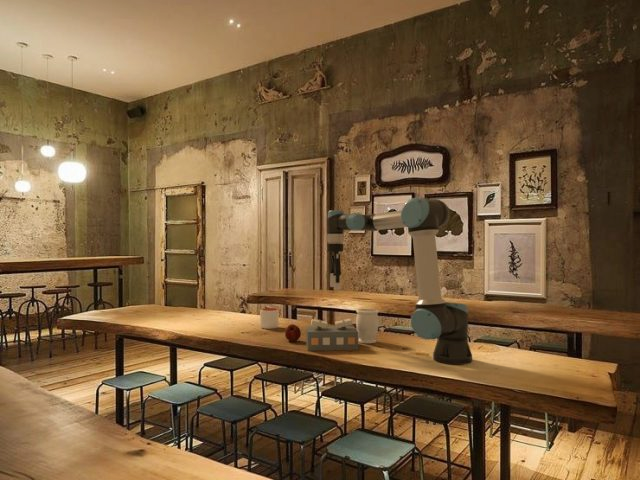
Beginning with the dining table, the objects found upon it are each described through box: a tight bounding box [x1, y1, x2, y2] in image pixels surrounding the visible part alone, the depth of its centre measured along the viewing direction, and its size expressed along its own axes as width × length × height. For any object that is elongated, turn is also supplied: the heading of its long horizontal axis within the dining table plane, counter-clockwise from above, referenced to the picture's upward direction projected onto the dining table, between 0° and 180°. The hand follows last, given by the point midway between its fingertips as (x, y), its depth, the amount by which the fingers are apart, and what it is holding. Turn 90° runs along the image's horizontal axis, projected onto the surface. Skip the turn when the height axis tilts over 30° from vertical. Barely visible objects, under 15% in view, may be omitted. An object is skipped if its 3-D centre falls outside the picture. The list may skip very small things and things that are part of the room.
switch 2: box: [334, 318, 353, 328], centre depth 213 cm, size 5×7×2 cm
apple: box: [284, 324, 302, 342], centre depth 224 cm, size 7×8×8 cm
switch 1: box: [310, 318, 329, 328], centre depth 212 cm, size 5×7×2 cm
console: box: [305, 325, 359, 351], centre depth 212 cm, size 14×22×9 cm, turn 95°
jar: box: [355, 308, 380, 344], centre depth 223 cm, size 11×10×15 cm
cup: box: [259, 307, 280, 330], centre depth 259 cm, size 10×10×10 cm
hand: (335, 288), depth 221 cm, fingers open, 13 cm apart
